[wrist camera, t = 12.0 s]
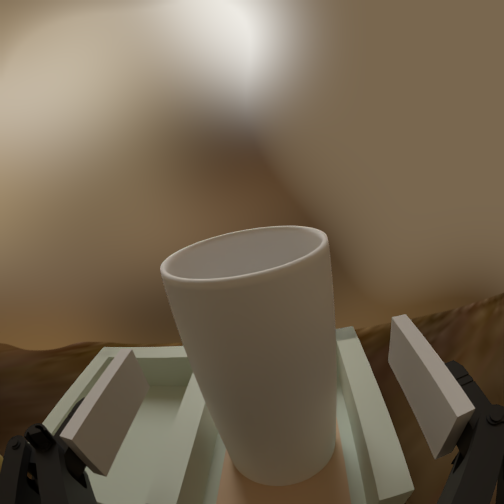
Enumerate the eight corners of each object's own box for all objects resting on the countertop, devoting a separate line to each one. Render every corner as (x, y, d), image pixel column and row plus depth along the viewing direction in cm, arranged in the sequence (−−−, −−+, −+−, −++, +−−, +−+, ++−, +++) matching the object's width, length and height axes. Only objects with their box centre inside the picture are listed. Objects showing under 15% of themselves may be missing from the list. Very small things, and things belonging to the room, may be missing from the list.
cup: (210, 445, 19) (137, 263, 14) (282, 395, 24) (251, 223, 19) (281, 505, 13) (221, 300, 8) (356, 433, 17) (360, 228, 13)
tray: (394, 515, 10) (417, 485, 8) (54, 485, 13) (16, 448, 12) (352, 365, 27) (352, 321, 26) (120, 379, 30) (101, 342, 29)
